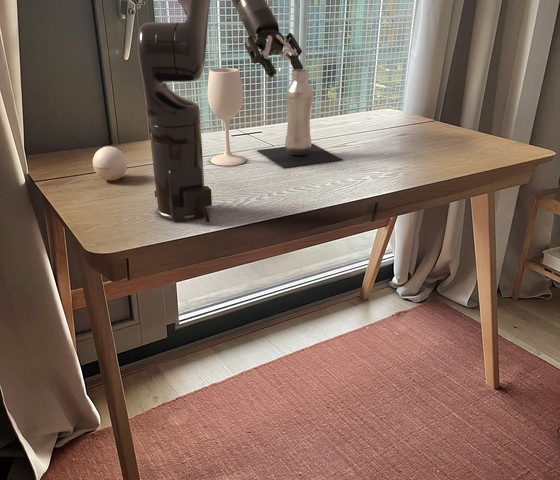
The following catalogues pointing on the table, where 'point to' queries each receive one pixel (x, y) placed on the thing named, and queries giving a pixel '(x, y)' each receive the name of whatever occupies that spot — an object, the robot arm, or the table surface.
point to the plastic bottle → (299, 114)
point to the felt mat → (299, 157)
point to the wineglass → (225, 106)
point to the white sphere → (109, 163)
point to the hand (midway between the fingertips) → (287, 73)
